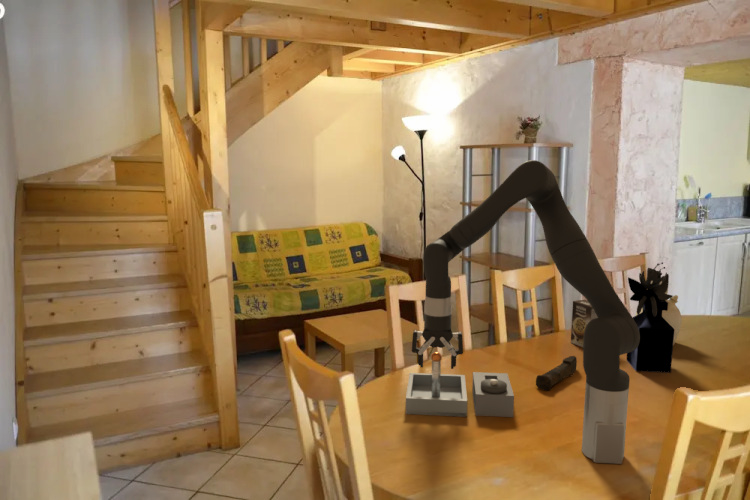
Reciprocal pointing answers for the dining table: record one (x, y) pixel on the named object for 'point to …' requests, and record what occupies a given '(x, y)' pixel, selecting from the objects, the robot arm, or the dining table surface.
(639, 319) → the vase
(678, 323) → the jug
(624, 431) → the robot arm
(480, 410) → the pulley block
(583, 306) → the coffee box
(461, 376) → the tray
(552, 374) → the hand tool
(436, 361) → the pin
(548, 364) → the dining table surface
